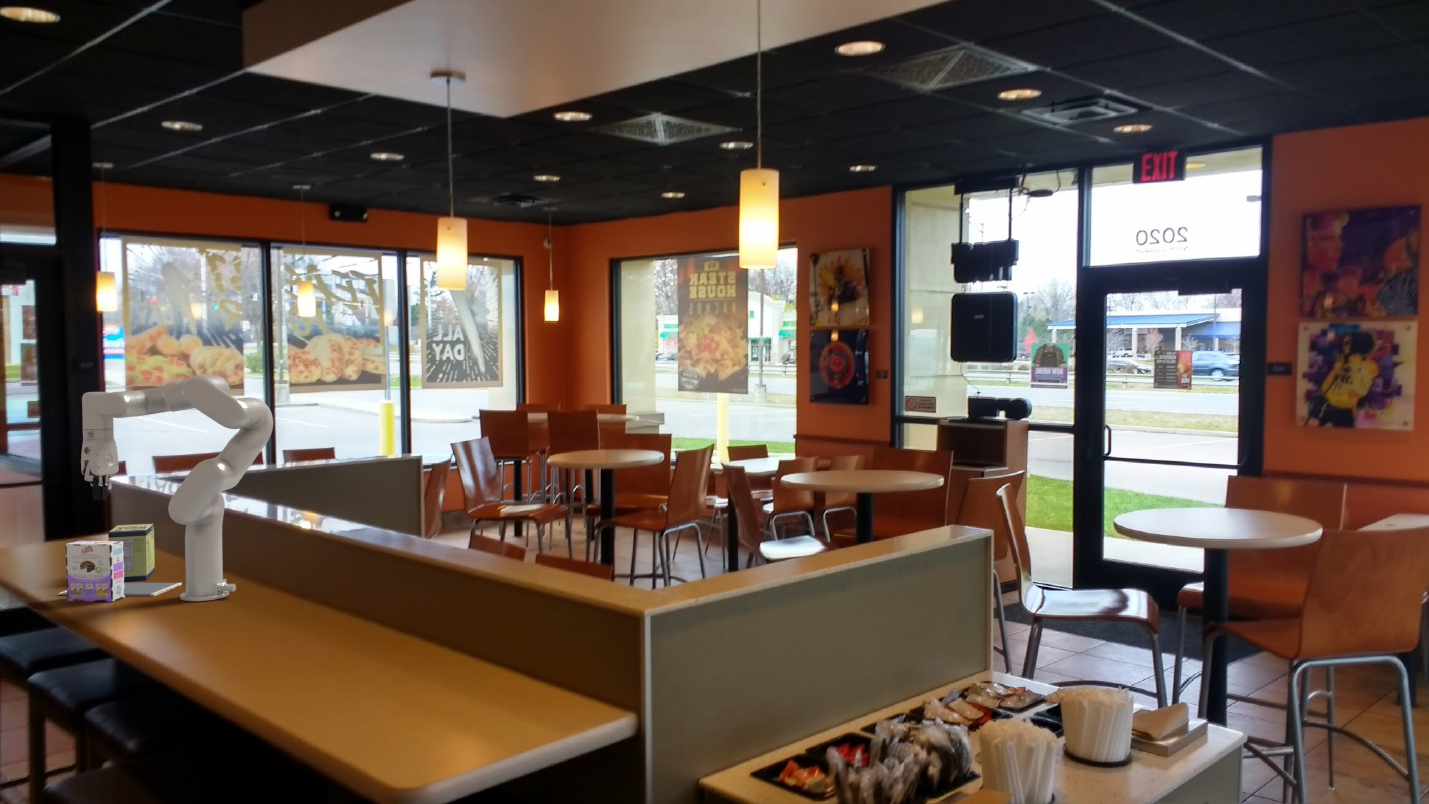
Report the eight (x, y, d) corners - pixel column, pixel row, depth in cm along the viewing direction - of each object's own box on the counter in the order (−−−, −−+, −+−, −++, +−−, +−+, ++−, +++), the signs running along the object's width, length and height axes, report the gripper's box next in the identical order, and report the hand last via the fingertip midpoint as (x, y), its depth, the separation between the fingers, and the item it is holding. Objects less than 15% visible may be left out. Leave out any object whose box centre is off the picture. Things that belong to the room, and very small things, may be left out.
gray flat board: (182, 584, 312) (182, 582, 312) (153, 596, 297) (153, 594, 297) (90, 584, 313) (90, 582, 313) (57, 595, 298) (57, 593, 298)
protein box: (155, 570, 333) (154, 522, 333) (147, 580, 319) (146, 530, 318) (118, 573, 330) (117, 524, 329) (108, 583, 315) (107, 532, 315)
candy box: (126, 597, 295) (124, 540, 295) (112, 602, 289) (110, 544, 289) (80, 596, 297) (79, 539, 296) (65, 601, 291) (64, 543, 290)
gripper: (93, 437, 287) (94, 503, 288) (127, 433, 302) (129, 496, 303) (67, 437, 288) (69, 503, 289) (103, 433, 303) (105, 496, 303)
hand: (99, 499), depth 296 cm, fingers closed
